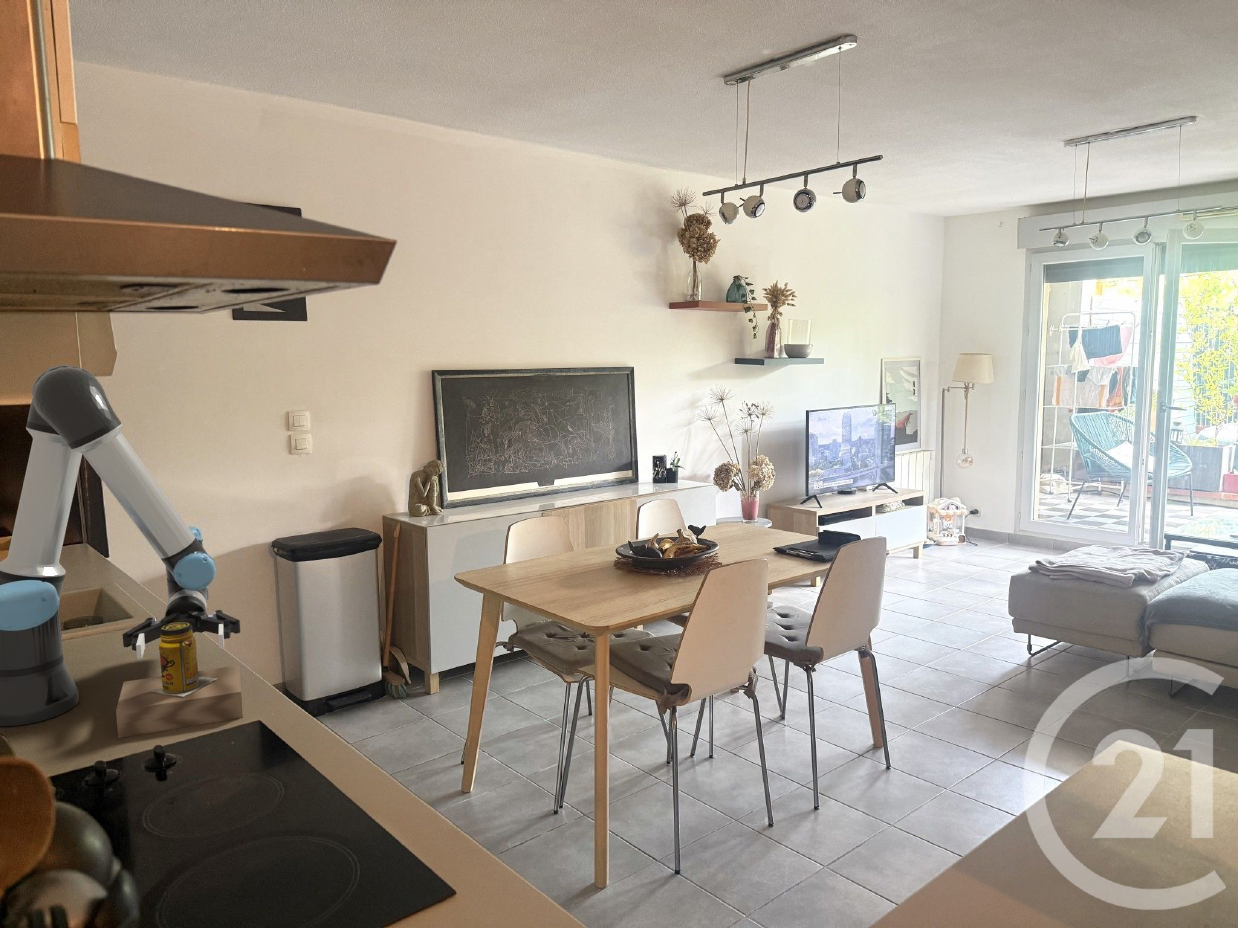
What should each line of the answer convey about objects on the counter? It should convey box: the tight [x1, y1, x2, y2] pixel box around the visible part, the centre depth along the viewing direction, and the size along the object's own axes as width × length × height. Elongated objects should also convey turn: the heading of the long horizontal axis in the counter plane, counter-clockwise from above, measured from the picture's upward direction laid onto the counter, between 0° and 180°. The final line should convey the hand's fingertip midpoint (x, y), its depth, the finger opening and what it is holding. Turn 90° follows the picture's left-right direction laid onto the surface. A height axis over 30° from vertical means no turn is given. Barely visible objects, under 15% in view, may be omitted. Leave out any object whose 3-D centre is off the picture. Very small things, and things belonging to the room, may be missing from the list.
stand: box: [115, 664, 244, 739], centre depth 162 cm, size 20×14×5 cm
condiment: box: [152, 622, 217, 697], centre depth 161 cm, size 7×8×12 cm
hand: (180, 646), depth 160 cm, fingers open, 13 cm apart
